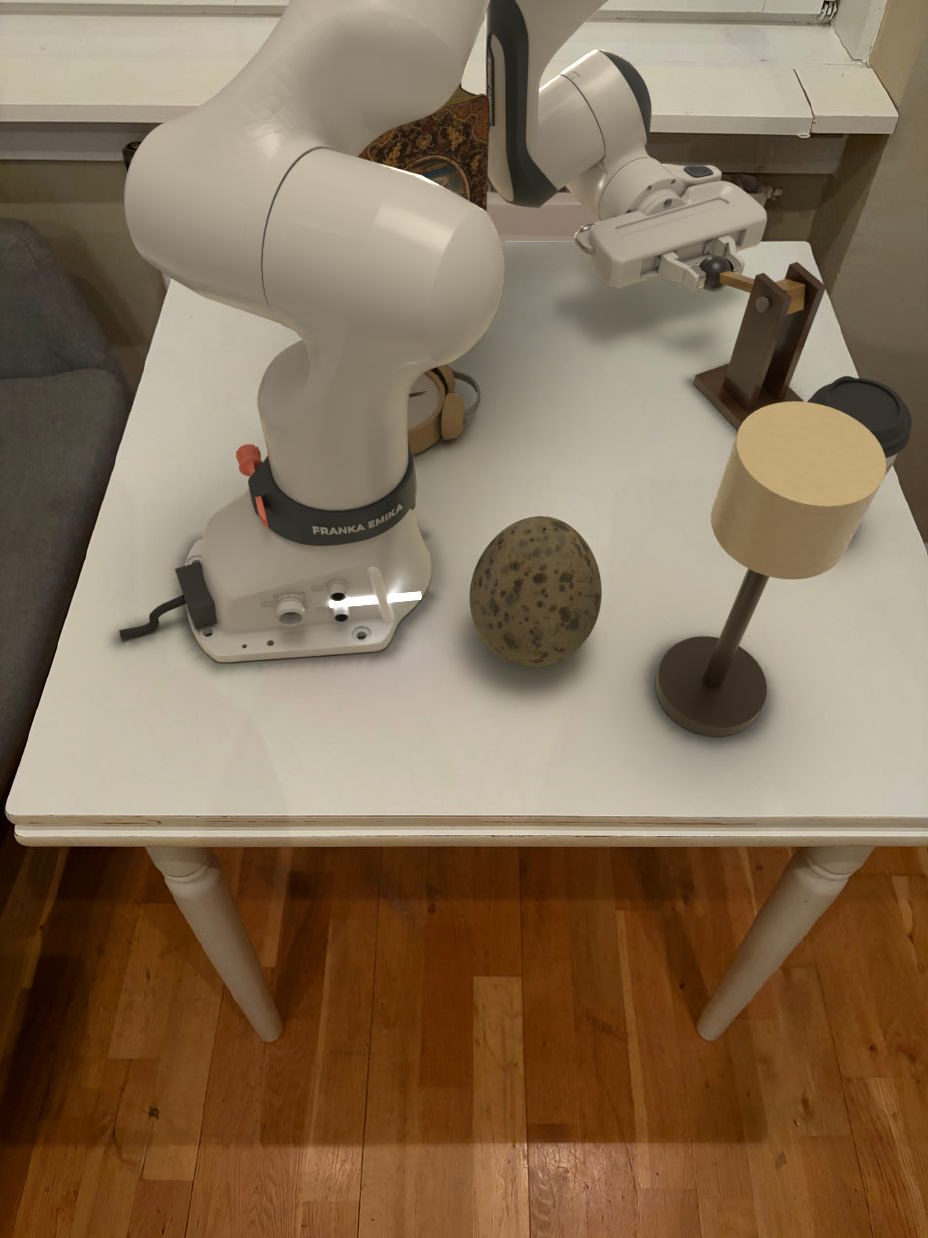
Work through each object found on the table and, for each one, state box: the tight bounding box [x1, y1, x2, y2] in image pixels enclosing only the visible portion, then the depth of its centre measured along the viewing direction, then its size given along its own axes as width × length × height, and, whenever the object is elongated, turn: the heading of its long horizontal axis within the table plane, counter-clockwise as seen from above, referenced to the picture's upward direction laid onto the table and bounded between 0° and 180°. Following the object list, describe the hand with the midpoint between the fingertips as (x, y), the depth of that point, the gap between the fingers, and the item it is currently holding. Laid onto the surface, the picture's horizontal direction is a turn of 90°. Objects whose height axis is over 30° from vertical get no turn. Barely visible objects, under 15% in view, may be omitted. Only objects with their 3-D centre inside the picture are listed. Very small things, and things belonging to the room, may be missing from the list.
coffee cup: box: [806, 375, 913, 477], centre depth 86 cm, size 9×9×15 cm
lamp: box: [654, 401, 886, 738], centre depth 69 cm, size 9×9×28 cm
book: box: [358, 82, 489, 213], centre depth 98 cm, size 16×6×25 cm, turn 122°
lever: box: [698, 255, 805, 315], centre depth 95 cm, size 14×4×4 cm, turn 27°
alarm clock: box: [408, 364, 481, 455], centre depth 98 cm, size 11×5×15 cm
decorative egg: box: [468, 515, 603, 667], centre depth 77 cm, size 11×11×15 cm
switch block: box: [692, 261, 827, 431], centre depth 96 cm, size 10×8×15 cm
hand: (719, 277), depth 99 cm, fingers closed on lever, 3 cm apart
